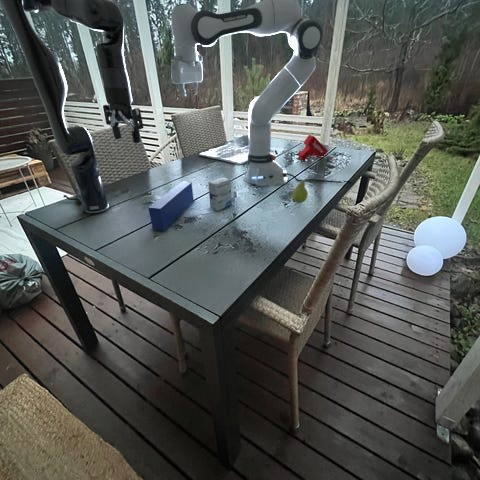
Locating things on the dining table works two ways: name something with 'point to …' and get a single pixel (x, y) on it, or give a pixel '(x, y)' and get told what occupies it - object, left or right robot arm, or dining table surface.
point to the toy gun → (312, 148)
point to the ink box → (220, 193)
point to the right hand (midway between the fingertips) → (189, 95)
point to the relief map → (228, 153)
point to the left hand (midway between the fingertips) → (127, 140)
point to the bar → (171, 206)
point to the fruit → (300, 192)
